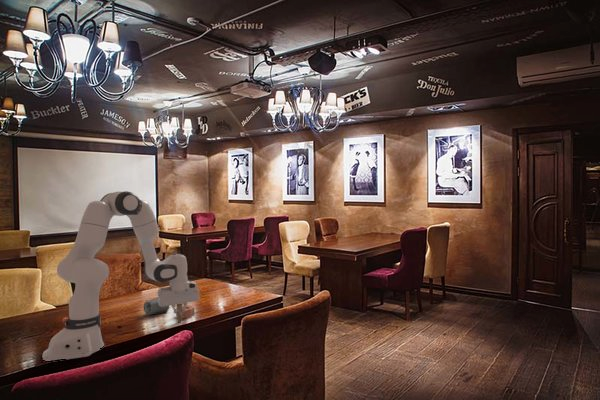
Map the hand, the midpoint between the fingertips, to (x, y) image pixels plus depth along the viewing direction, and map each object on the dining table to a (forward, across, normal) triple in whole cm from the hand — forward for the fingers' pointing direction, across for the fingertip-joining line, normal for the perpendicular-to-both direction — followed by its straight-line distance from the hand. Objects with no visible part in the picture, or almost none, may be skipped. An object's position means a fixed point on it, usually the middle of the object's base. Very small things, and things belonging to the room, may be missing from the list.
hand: (179, 312), depth 201 cm
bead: (+5, +5, +8) cm, 10 cm away
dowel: (+5, 0, 0) cm, 5 cm away
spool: (+5, -7, +21) cm, 23 cm away
